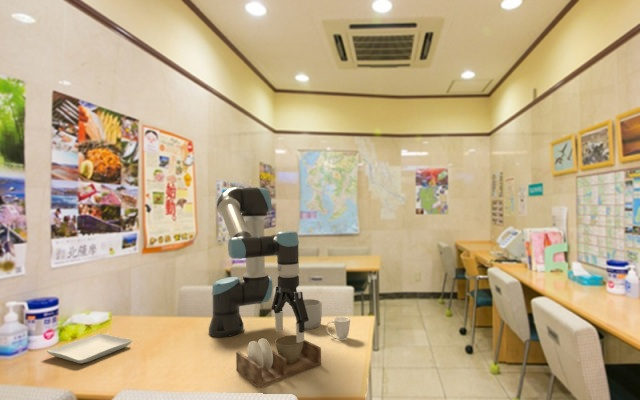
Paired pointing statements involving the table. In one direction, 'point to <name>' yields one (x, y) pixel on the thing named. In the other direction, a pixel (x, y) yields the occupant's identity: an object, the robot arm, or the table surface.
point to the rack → (279, 365)
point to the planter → (313, 313)
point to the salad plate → (90, 348)
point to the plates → (261, 353)
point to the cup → (341, 327)
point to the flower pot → (289, 347)
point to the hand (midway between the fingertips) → (289, 336)
